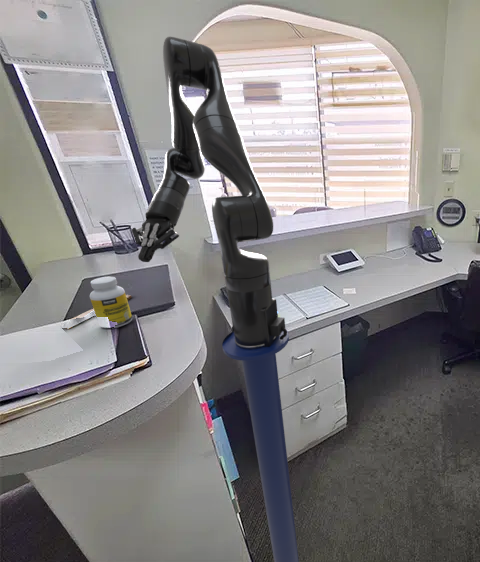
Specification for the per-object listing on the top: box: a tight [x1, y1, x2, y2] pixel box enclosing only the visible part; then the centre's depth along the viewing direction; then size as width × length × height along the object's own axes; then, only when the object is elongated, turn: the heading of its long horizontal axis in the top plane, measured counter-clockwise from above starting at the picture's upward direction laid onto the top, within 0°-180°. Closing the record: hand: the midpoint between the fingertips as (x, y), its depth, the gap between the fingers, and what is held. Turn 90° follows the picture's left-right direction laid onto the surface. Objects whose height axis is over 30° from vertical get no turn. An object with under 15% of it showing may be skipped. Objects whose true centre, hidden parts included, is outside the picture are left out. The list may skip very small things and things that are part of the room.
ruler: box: [69, 294, 133, 320], centre depth 82 cm, size 3×18×1 cm, turn 174°
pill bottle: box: [89, 276, 133, 329], centre depth 75 cm, size 6×6×12 cm
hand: (143, 260), depth 82 cm, fingers closed
